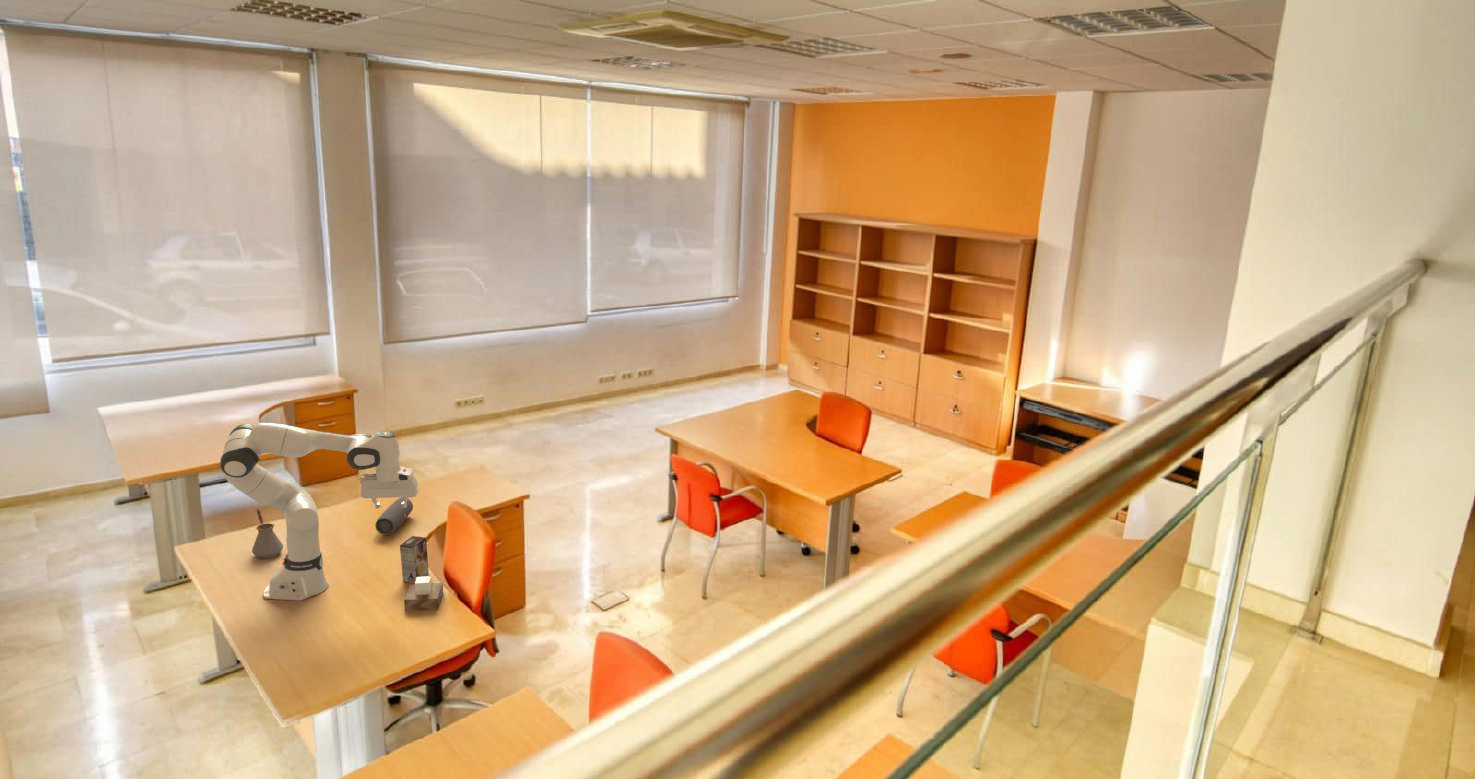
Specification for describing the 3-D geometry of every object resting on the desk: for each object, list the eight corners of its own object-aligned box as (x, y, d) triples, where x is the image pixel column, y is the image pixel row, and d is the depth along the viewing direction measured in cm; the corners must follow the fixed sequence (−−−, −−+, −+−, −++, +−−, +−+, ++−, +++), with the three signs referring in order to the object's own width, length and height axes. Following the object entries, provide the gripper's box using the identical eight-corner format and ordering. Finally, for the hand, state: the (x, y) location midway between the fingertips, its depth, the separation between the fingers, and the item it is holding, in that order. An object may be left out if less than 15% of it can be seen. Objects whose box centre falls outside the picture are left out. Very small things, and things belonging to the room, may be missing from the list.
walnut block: (404, 611, 327) (404, 599, 326) (411, 595, 339) (410, 584, 337) (438, 610, 329) (437, 598, 328) (443, 594, 341) (442, 582, 339)
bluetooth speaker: (396, 538, 384) (394, 517, 382) (375, 537, 384) (373, 516, 382) (415, 516, 406) (413, 496, 404) (395, 515, 406) (393, 495, 404)
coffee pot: (286, 556, 364) (282, 523, 360) (255, 563, 357) (251, 530, 353) (276, 537, 380) (272, 505, 376) (246, 543, 374) (242, 511, 370)
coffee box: (414, 571, 357) (412, 535, 352) (429, 573, 355) (426, 537, 351) (402, 581, 348) (399, 545, 344) (416, 583, 347) (414, 547, 342)
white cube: (415, 595, 330) (415, 583, 328) (417, 588, 334) (416, 576, 333) (429, 594, 331) (429, 582, 329) (431, 587, 335) (430, 576, 334)
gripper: (357, 477, 323) (360, 511, 327) (414, 476, 326) (417, 510, 330) (361, 471, 329) (364, 504, 333) (418, 469, 332) (420, 503, 336)
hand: (391, 507), depth 332 cm, fingers open, 8 cm apart
